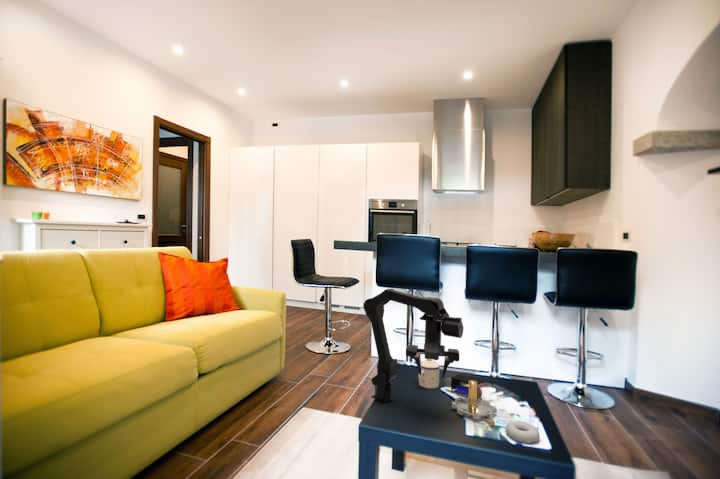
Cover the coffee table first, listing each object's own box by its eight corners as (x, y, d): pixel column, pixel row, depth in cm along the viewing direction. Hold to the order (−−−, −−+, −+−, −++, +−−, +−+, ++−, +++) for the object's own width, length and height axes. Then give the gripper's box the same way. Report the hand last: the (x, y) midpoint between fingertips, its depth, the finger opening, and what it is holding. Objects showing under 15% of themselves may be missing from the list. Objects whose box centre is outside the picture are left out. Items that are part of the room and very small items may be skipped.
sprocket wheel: (443, 405, 134) (444, 373, 134) (470, 397, 143) (471, 367, 143) (477, 423, 122) (478, 387, 122) (505, 412, 130) (506, 379, 130)
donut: (502, 438, 115) (536, 449, 109) (502, 427, 115) (536, 437, 110) (509, 426, 123) (541, 435, 118) (509, 416, 123) (541, 424, 118)
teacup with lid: (425, 379, 164) (426, 353, 164) (443, 385, 157) (444, 358, 158) (410, 386, 155) (410, 359, 155) (428, 392, 149) (429, 364, 149)
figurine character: (444, 394, 151) (477, 402, 140) (442, 375, 152) (475, 382, 141) (453, 390, 156) (485, 398, 145) (451, 372, 157) (484, 378, 146)
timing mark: (485, 422, 125) (485, 419, 125) (489, 421, 126) (489, 418, 126) (490, 425, 123) (490, 422, 123) (494, 424, 123) (494, 421, 123)
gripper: (404, 336, 126) (403, 381, 126) (460, 341, 121) (459, 388, 121) (408, 329, 137) (406, 370, 136) (459, 333, 132) (458, 376, 132)
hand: (431, 376), depth 131 cm, fingers open, 8 cm apart
